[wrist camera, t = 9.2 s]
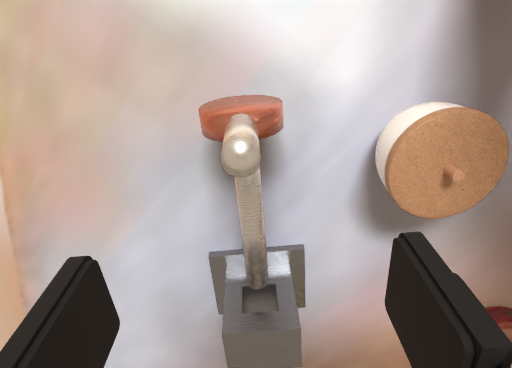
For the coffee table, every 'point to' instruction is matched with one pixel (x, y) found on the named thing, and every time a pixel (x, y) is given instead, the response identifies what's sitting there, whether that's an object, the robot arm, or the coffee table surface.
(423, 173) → the lidded jar
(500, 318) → the decorative planter
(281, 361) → the grey square peg socket
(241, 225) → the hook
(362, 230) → the coffee table surface
